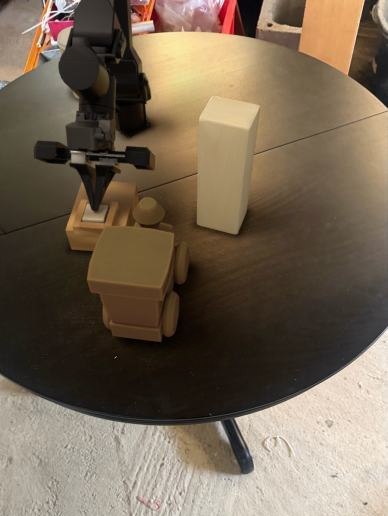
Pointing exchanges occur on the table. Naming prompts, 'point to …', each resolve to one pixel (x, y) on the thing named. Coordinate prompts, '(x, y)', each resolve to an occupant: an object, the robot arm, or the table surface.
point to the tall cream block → (225, 162)
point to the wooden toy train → (139, 274)
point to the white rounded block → (96, 214)
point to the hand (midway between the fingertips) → (94, 210)
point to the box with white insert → (120, 214)
